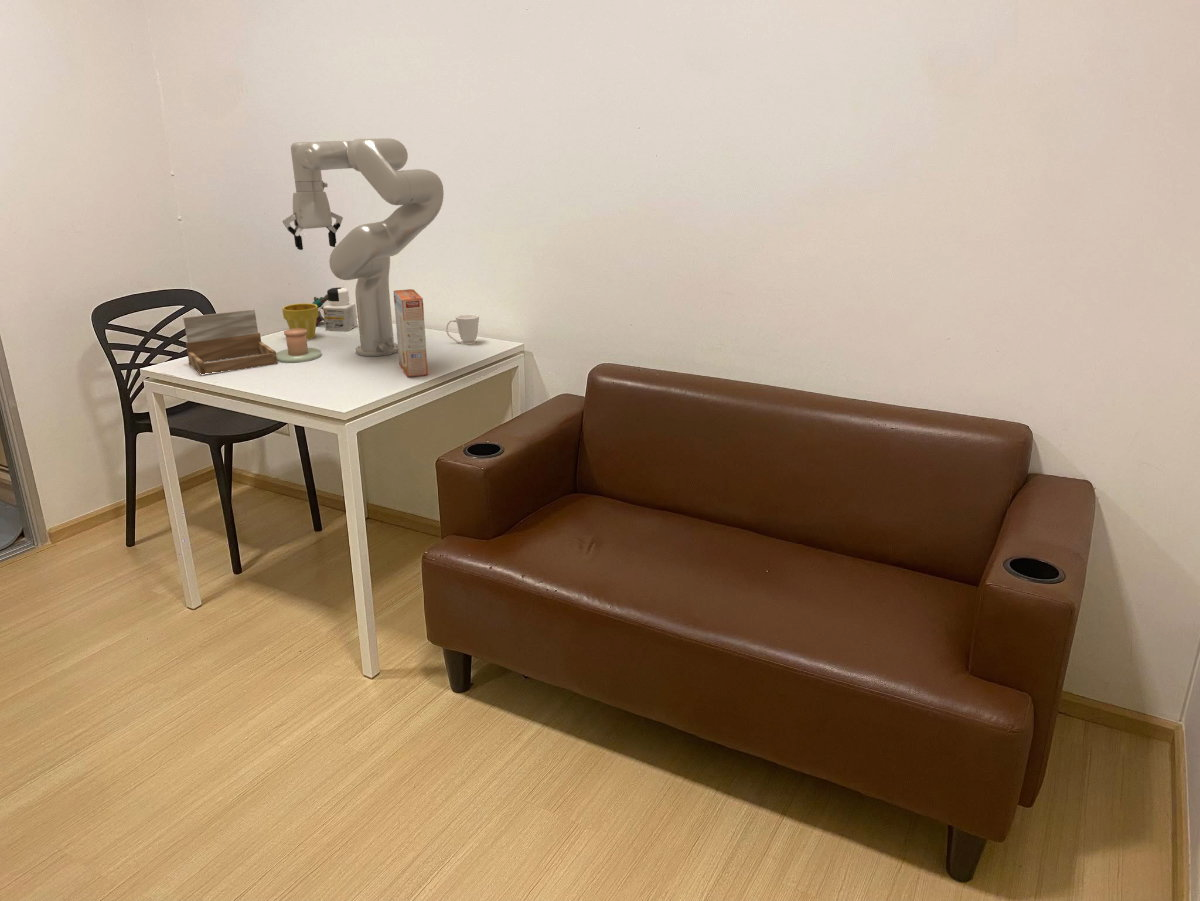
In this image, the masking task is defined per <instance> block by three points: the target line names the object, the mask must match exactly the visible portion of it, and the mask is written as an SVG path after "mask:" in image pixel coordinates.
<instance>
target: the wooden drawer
mask: <svg viewBox="0 0 1200 901" xmlns="http://www.w3.org/2000/svg"><path fill="white" fill-rule="evenodd" d="M182 320H183V324H184V331H185V335H186V342H185V347H186V353H187V359H188V363H189V365H190V366H191V365H192V366H193V367H194V368H193V367H192V366H191V367H192V368H193V369H194V370H195V371H197V370H198V371H199V372H200V373H201V374H205V373H212V372H221V371H228V370H234V371H239V370H238V369H241V370H246V369H245V368H247V369H252V368H251V367H253V368H258V366H259V367H266V366H271V365H277V364H279V363H278V361H277V356H276V353H277V351H276V350H275V349H273V348H272V347H270V346H269V345H267V344H266V343H264V342H263V341H262V337H261V333H260V332H259V331H258V324H257V317H256V310H255V309H254V308H252V309H251V308H250V309H244V310H243V309H241V310H235V311H228V312H217V313H210V314H203V315H195V316H186V317H183V319H182ZM226 358H229V359H226ZM220 359H222V360H220ZM213 360H215V361H213ZM207 361H209V362H207ZM198 371H197V372H198ZM199 372H198V373H199ZM228 372H229V371H228ZM200 373H199V374H200ZM201 374H200V375H201Z"/></svg>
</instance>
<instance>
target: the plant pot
mask: <svg viewBox="0 0 1200 901" xmlns="http://www.w3.org/2000/svg"><path fill="white" fill-rule="evenodd" d="M318 309H319V308H318V306H317V305H316V304H312V303H310V302H309V303H308V302H305V303H304V302H302V303H291V304H287V305H284V306H283V307H282V315H283V319H284V320H285V321H286V324H287V326H288V329H293V328H304V329H307V333H306V338H307V340H310V339H314V338H315V337H316V328H317V326H316V320H317V317H318V316H319V314H318V311H319V310H318Z"/></svg>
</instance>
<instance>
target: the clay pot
mask: <svg viewBox="0 0 1200 901" xmlns="http://www.w3.org/2000/svg"><path fill="white" fill-rule="evenodd" d="M306 333H307V329H304V328H293V329H289V328H288V329H285V330H283V334H284V336H285V341H286V347H287V349H288V355H291V356H299V355H305V354H307V353H308V348H309V346H308V339H307V338H306Z"/></svg>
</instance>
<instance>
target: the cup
mask: <svg viewBox="0 0 1200 901" xmlns="http://www.w3.org/2000/svg"><path fill="white" fill-rule="evenodd" d="M479 320H480V315H477V314H470V313H465V314H458V315H457V316H455V319H451V320H449V321H448V322H447V325H446V334H447V336H448V337H449V338H450V339H451V340H453V341H454V342H456V343H459V344H463V345H475V344H476V343H477V341H476V339H477V336H478V332H479V322H480V321H479ZM452 322H453V323H456V325H457V329H458V330H457V331H458V334H459V337H460V339H461V341H460V340H458V339H456V338H454V337H452V336H451V335H450V334H449V331H448V328H449V325H450V323H452Z"/></svg>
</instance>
